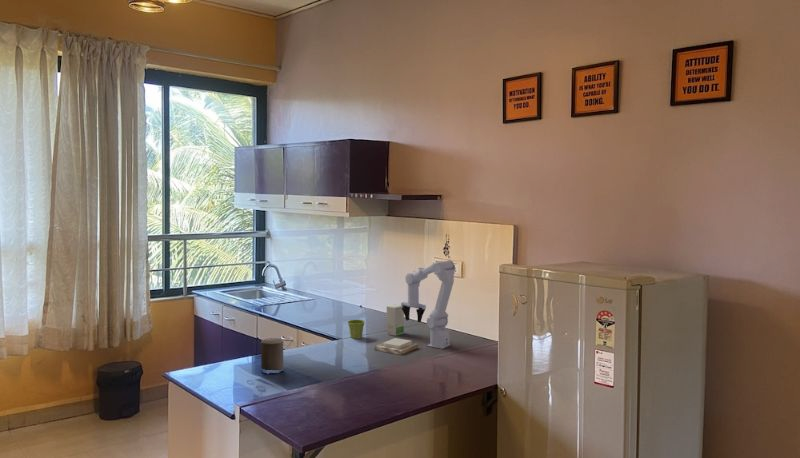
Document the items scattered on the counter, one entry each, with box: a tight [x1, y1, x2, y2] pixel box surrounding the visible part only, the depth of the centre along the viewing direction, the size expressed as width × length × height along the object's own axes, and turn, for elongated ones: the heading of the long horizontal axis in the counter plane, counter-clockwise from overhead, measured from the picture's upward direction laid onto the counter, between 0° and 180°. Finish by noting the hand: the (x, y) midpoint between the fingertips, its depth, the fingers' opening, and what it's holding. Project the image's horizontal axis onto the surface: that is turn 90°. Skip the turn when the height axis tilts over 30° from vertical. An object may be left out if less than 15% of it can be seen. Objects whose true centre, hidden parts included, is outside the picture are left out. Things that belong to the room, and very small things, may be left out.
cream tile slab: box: [382, 337, 413, 349], centre depth 294 cm, size 10×11×4 cm
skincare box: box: [386, 304, 405, 337], centre depth 324 cm, size 8×7×16 cm
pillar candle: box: [260, 337, 284, 370], centre depth 261 cm, size 10×10×15 cm
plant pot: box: [347, 319, 366, 340], centre depth 317 cm, size 9×9×9 cm
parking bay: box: [374, 342, 419, 355], centre depth 294 cm, size 16×14×2 cm
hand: (413, 321), depth 313 cm, fingers open, 7 cm apart
